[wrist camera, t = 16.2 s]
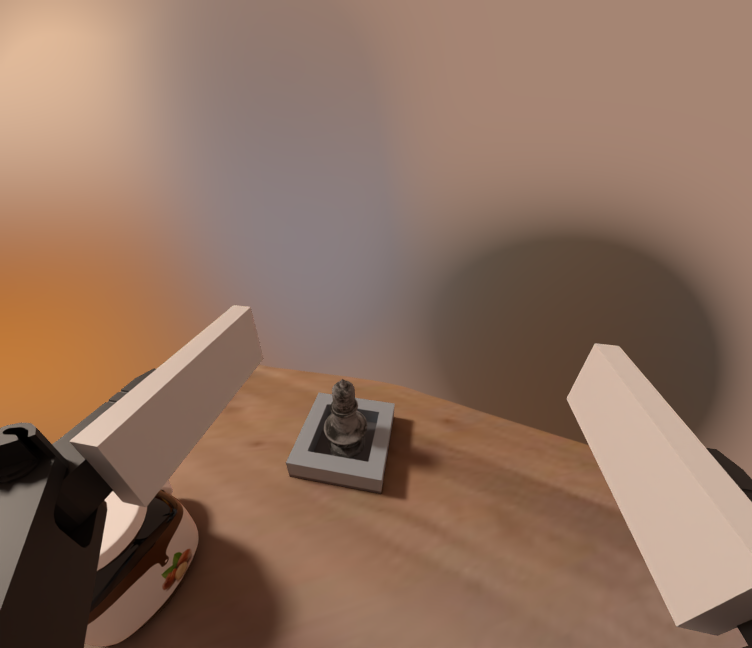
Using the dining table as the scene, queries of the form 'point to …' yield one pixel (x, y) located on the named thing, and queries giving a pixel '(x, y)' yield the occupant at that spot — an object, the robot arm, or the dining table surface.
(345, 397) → the salt shaker
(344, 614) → the dining table surface
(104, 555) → the spread jar
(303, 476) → the socket block
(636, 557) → the dining table surface
